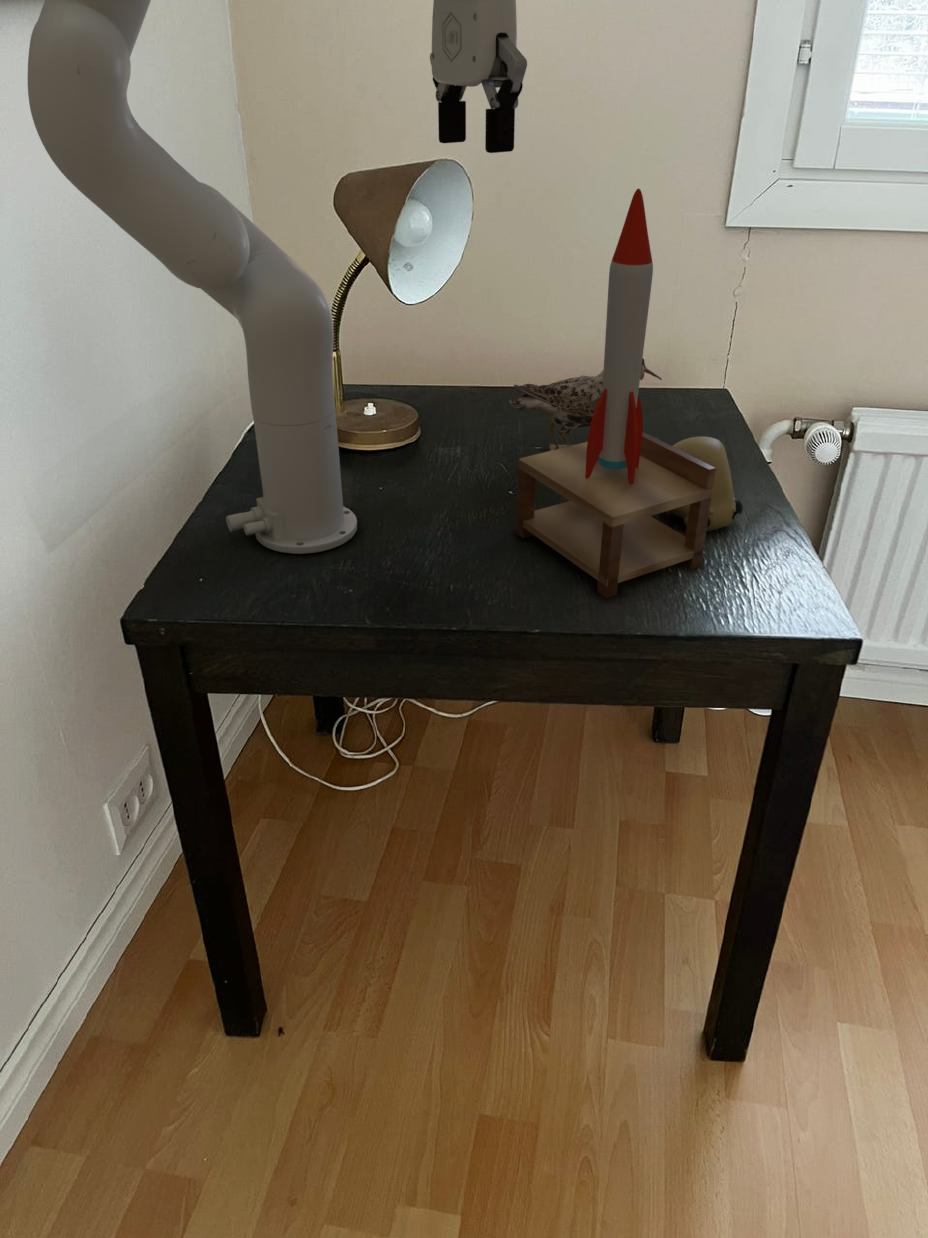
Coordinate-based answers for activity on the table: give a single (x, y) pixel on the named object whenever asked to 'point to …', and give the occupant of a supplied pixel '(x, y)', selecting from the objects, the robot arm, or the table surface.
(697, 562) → the rack
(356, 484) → the table surface
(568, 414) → the stuffed bird
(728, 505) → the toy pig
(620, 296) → the toy rocket
